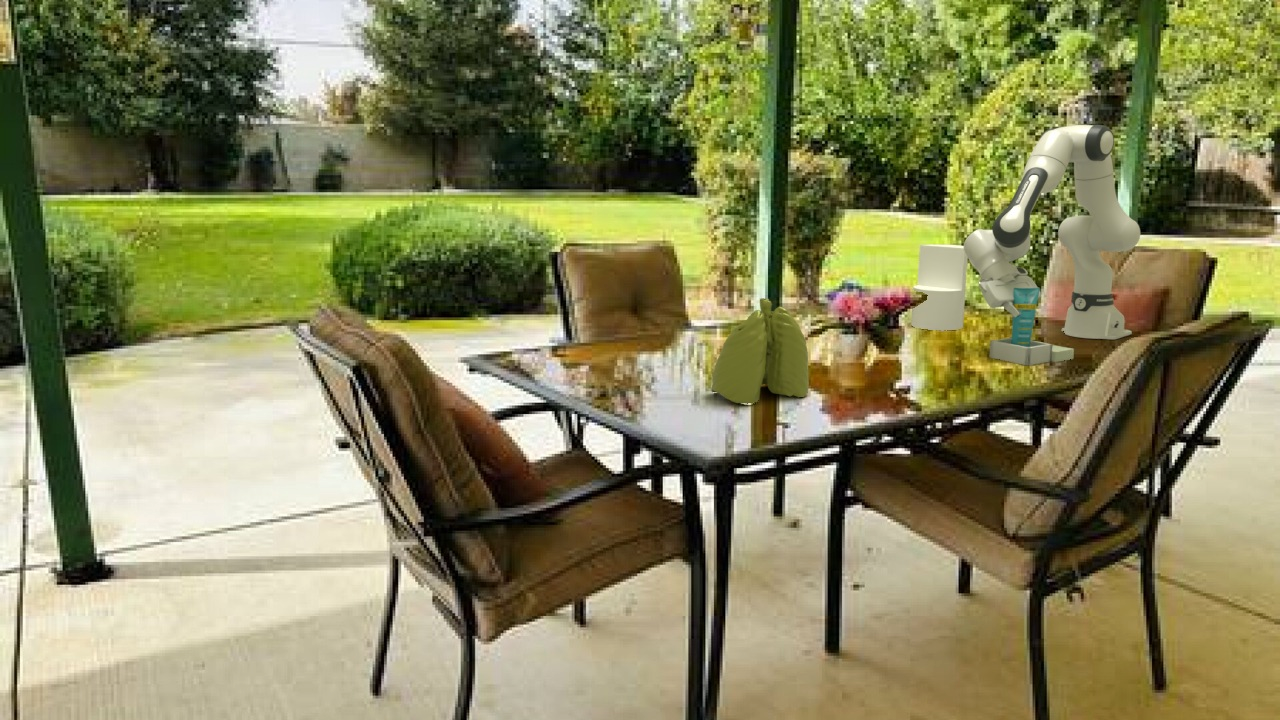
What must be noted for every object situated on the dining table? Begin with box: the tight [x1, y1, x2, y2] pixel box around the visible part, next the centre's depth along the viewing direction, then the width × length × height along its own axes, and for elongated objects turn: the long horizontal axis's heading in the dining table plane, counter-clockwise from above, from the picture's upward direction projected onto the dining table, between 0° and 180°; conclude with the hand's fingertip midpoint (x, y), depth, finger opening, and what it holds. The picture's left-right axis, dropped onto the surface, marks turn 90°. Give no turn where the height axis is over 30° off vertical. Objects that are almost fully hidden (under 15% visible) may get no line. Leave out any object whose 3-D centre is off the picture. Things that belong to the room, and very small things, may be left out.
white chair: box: [910, 244, 969, 332], centre depth 314 cm, size 17×17×28 cm
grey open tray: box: [988, 337, 1075, 366], centre depth 265 cm, size 18×16×5 cm
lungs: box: [710, 297, 810, 404], centre depth 223 cm, size 25×16×24 cm, turn 116°
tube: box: [1011, 287, 1041, 347], centre depth 262 cm, size 7×5×19 cm, turn 94°
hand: (1026, 314), depth 261 cm, fingers closed on tube, 5 cm apart
